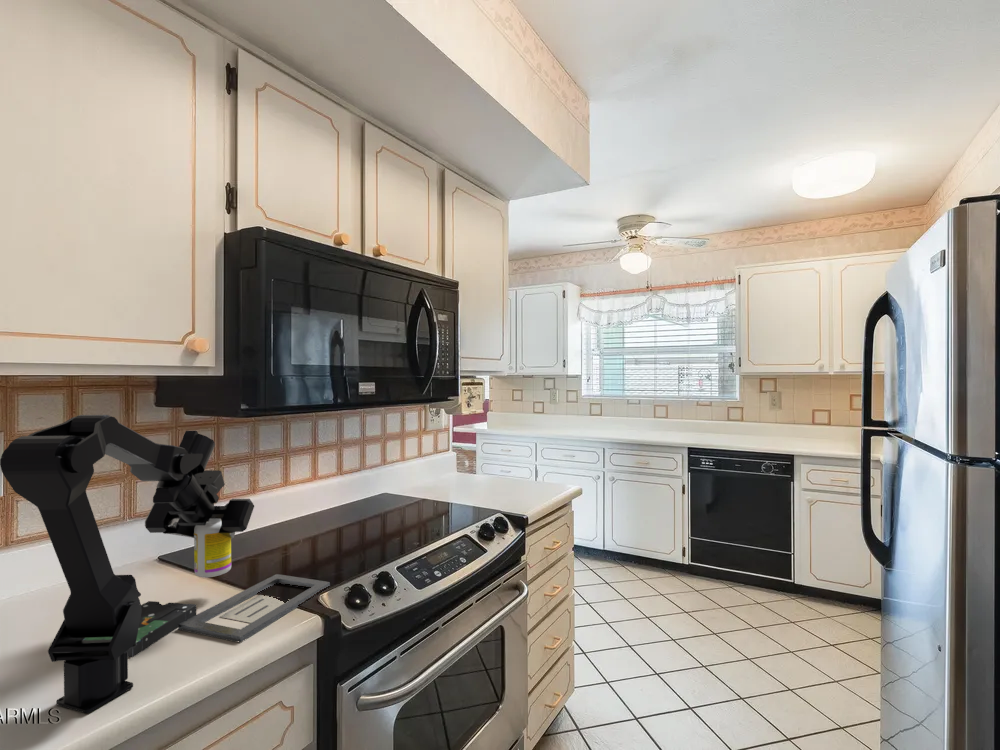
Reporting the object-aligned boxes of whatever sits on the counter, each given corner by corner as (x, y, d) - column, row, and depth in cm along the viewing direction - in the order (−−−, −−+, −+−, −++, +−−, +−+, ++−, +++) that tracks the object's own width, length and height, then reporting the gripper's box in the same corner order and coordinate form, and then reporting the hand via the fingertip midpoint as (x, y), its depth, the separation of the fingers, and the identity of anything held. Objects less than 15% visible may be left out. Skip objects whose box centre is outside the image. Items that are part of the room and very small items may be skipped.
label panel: (240, 642, 89) (240, 636, 89) (178, 629, 93) (178, 624, 93) (329, 586, 112) (329, 582, 112) (276, 578, 116) (276, 574, 116)
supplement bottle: (238, 568, 110) (238, 506, 110) (213, 580, 103) (213, 514, 103) (212, 565, 111) (212, 504, 111) (186, 576, 105) (186, 512, 105)
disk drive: (147, 615, 100) (75, 656, 86) (147, 600, 100) (75, 639, 86) (197, 618, 99) (133, 660, 84) (197, 603, 99) (133, 643, 84)
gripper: (249, 459, 104) (273, 501, 115) (153, 459, 103) (186, 502, 114) (230, 509, 96) (257, 549, 107) (126, 510, 95) (164, 550, 106)
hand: (216, 536), depth 109 cm, fingers closed on supplement bottle, 7 cm apart
